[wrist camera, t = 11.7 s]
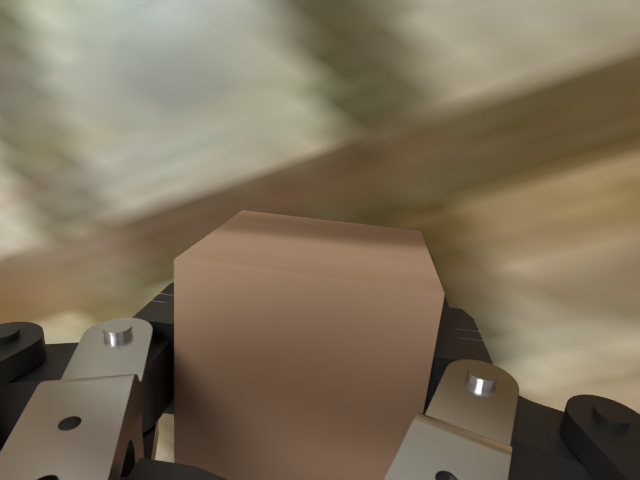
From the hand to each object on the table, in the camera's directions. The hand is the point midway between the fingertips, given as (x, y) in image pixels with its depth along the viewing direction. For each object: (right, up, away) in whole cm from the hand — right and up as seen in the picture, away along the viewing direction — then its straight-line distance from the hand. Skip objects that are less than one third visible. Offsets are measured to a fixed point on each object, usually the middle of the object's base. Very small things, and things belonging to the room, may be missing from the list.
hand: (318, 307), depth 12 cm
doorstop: (0, -4, +2) cm, 5 cm away
